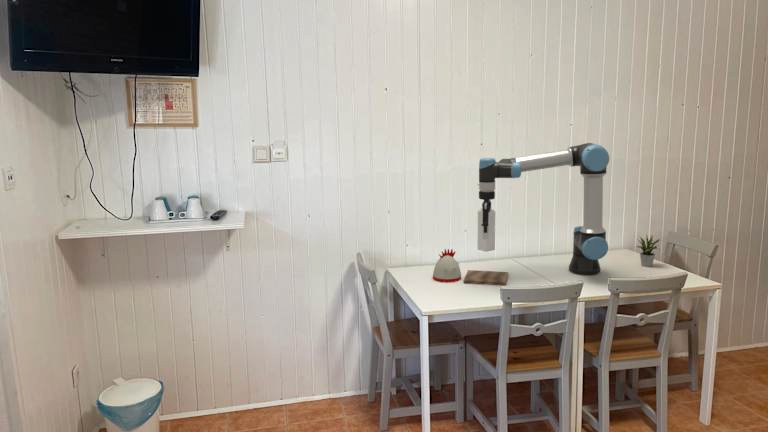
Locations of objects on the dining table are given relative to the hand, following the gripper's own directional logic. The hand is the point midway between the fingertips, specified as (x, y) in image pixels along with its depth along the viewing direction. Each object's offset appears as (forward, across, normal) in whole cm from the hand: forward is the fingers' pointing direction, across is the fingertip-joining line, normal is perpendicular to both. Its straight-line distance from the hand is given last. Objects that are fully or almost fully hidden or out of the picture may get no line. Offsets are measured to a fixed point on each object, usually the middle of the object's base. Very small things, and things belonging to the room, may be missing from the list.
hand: (486, 237), depth 300 cm
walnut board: (+21, 0, 0) cm, 21 cm away
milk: (+7, 0, 0) cm, 7 cm away
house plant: (+21, -37, +79) cm, 90 cm away
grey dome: (+21, +2, -19) cm, 29 cm away
